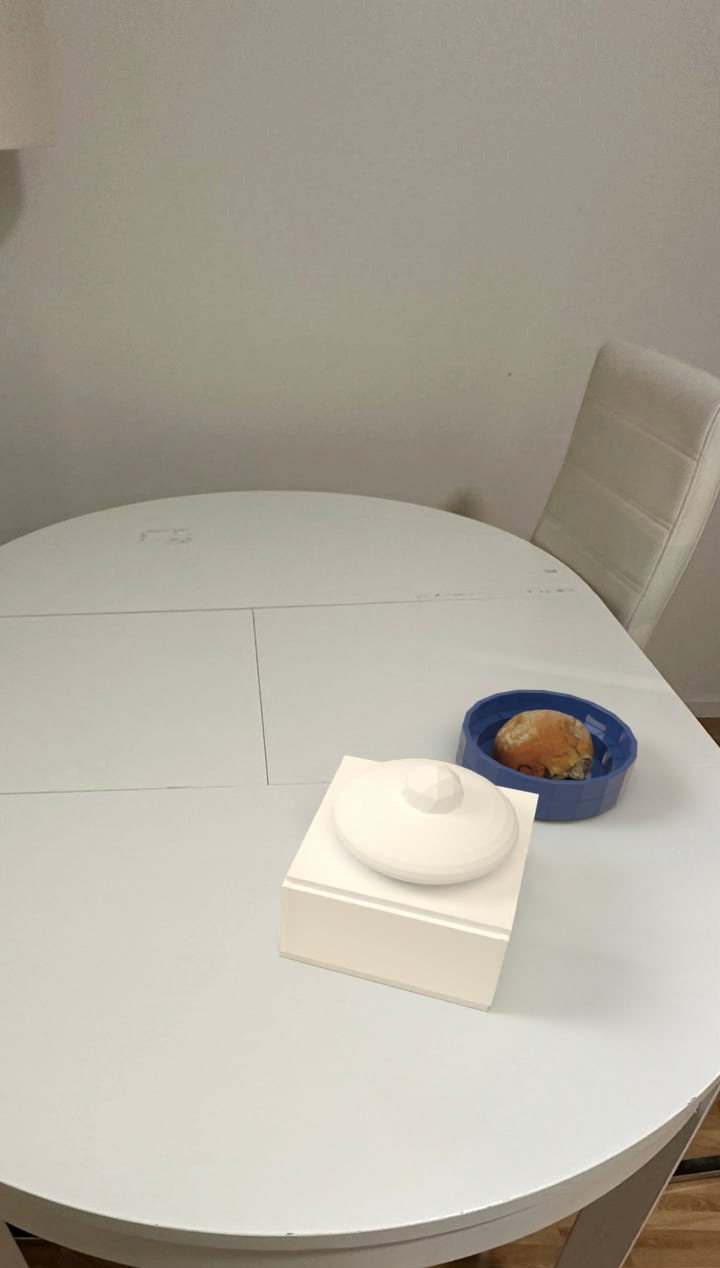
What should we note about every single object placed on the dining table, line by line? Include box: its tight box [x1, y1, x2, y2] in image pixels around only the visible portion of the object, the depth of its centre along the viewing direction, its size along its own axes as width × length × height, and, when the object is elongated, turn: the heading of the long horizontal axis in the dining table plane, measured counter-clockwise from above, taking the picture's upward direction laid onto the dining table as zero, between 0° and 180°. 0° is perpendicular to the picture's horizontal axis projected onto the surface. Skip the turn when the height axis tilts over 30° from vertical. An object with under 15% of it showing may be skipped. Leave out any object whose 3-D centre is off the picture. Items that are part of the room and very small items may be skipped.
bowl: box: [455, 689, 639, 821], centre depth 95 cm, size 17×17×5 cm
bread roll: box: [493, 710, 594, 781], centre depth 95 cm, size 10×10×8 cm
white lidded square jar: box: [278, 754, 539, 1013], centre depth 76 cm, size 18×18×16 cm
